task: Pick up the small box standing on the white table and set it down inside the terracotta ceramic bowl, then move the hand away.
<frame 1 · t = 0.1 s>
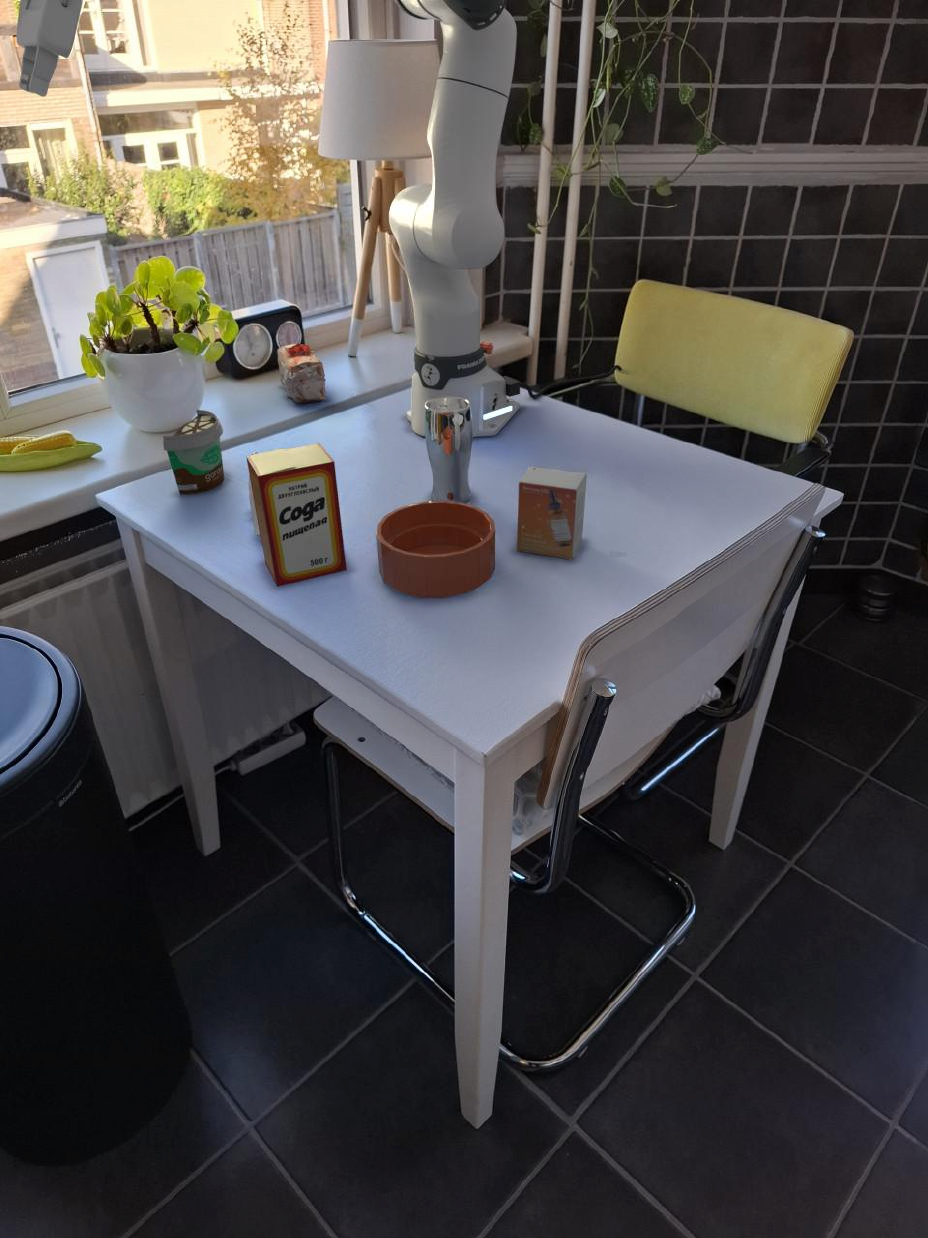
hand: (31, 92, 105), 54 cm above the table, tool tilted 30°, fingers open, 8 cm apart
bowl: (437, 570, 115), on the table
baking soda box: (305, 568, 117), on the table
small box: (549, 548, 120), on the table
food item: (303, 395, 173), on the table
food container: (210, 483, 140), on the table
shaker set: (269, 529, 127), on the table
beer glass: (451, 499, 133), on the table
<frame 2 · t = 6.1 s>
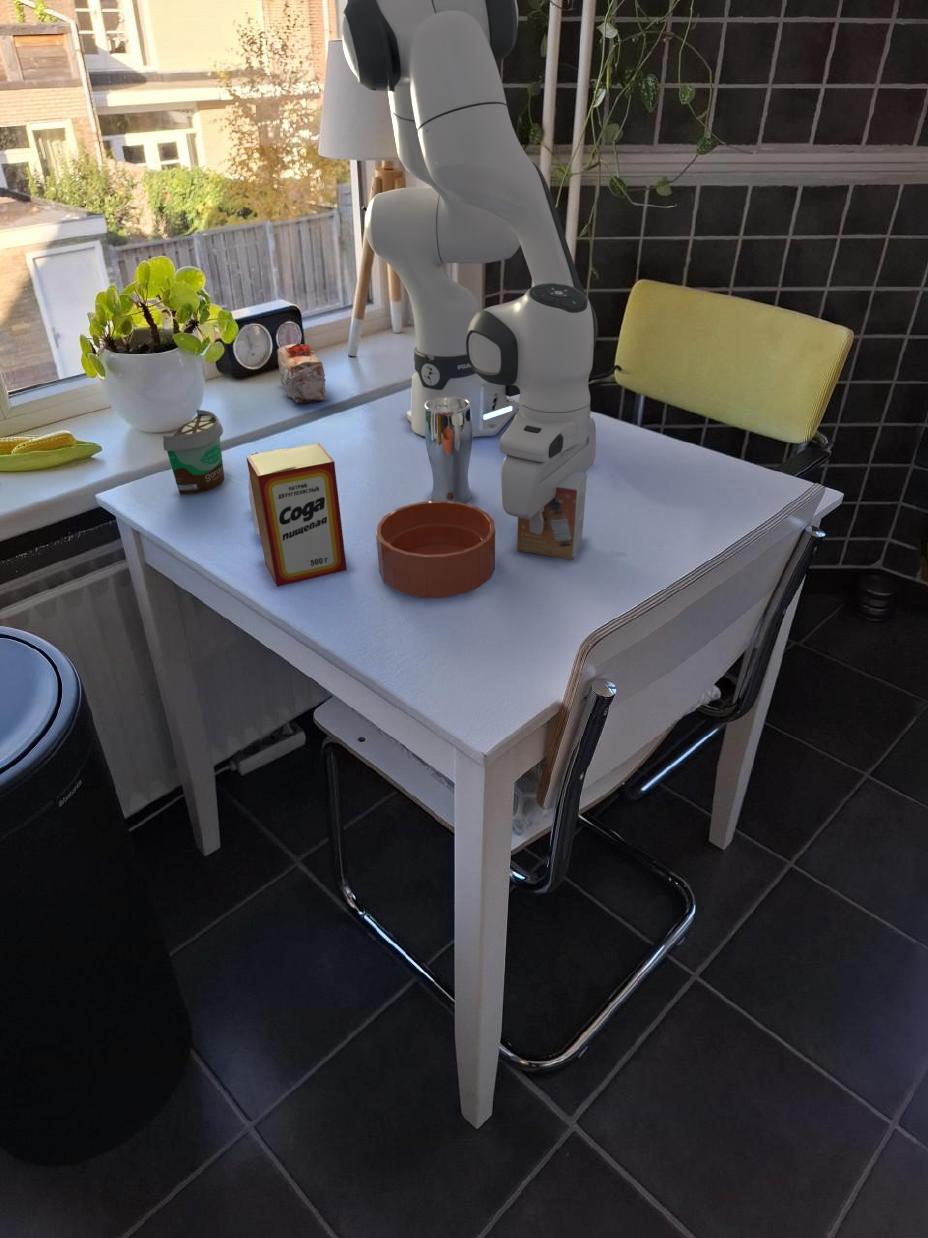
hand: (550, 520, 118), 4 cm above the table, tool pointing down, fingers closed on small box, 6 cm apart
small box: (549, 548, 120), on the table, touching gripper
everything else where it was.
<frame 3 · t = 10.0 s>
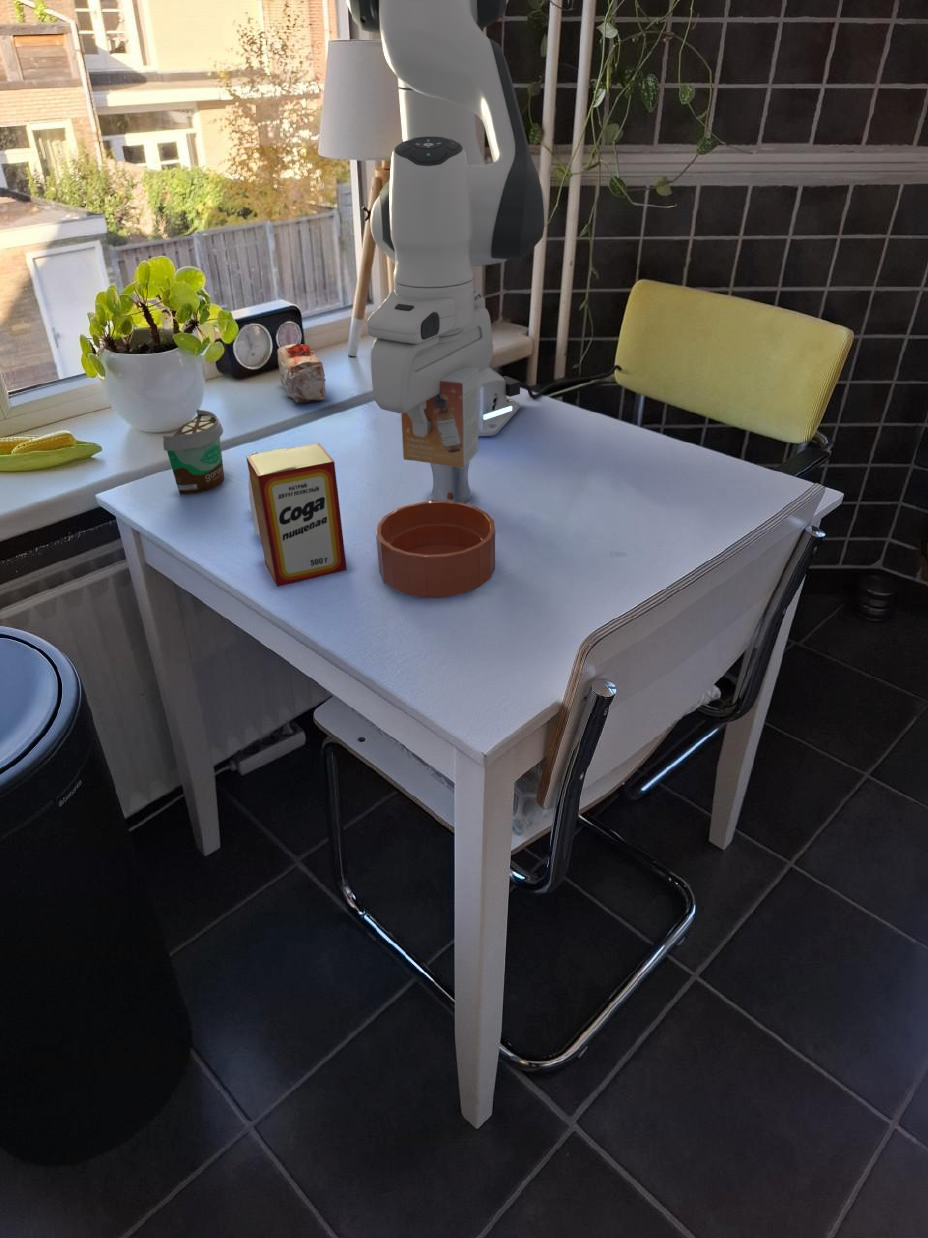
hand: (439, 424, 104), 20 cm above the table, tool pointing down, fingers closed on small box, 6 cm apart
small box: (441, 457, 107), point 16 cm above the table, touching gripper
everything else where it was.
when the fingers open (5 cm above the table, at t = 14.0 s): small box stays where it is, resting on bowl.
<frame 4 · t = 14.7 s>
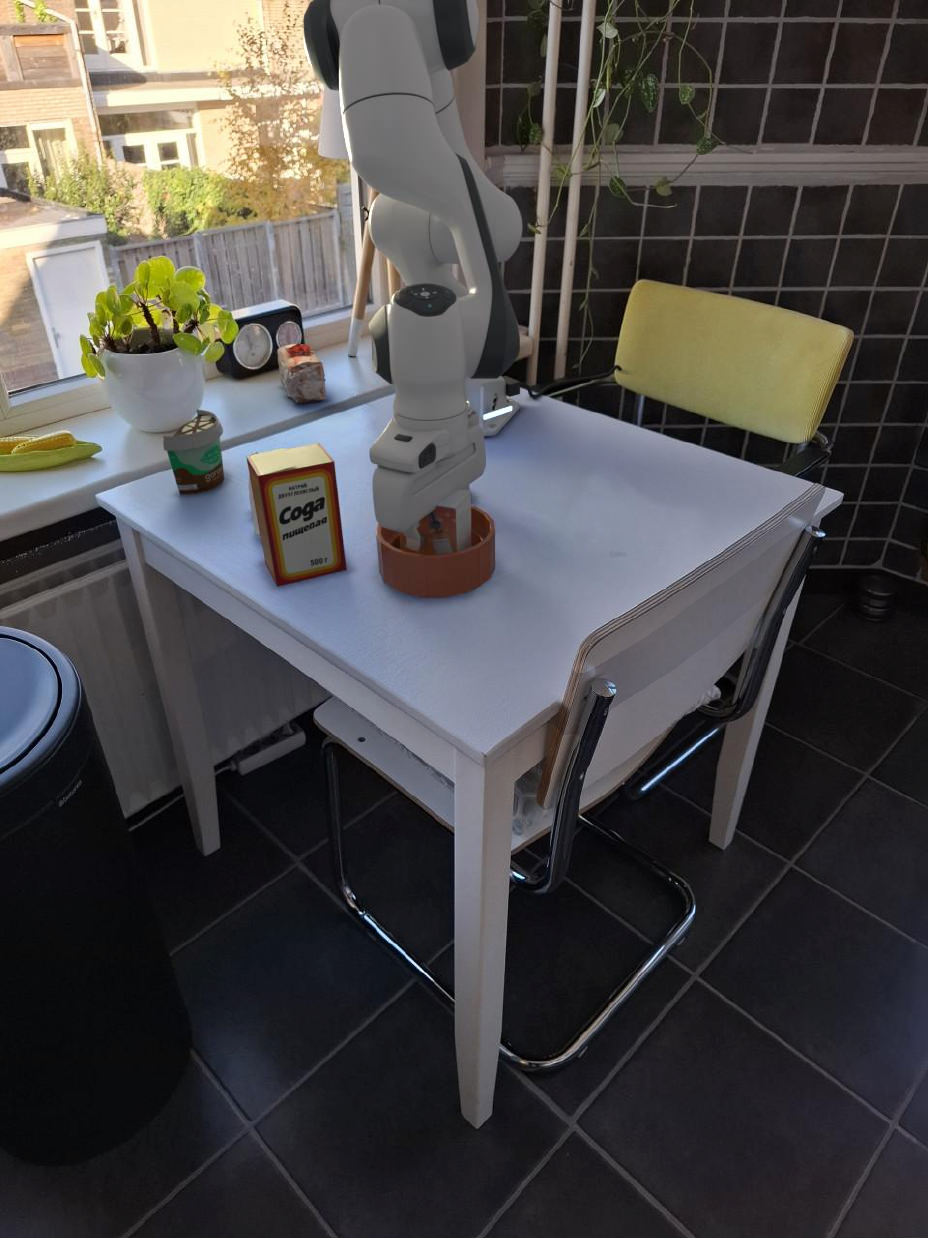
hand: (436, 532, 112), 6 cm above the table, tool pointing down, fingers open, 8 cm apart
small box: (437, 567, 115), resting on bowl
everything else where it was.
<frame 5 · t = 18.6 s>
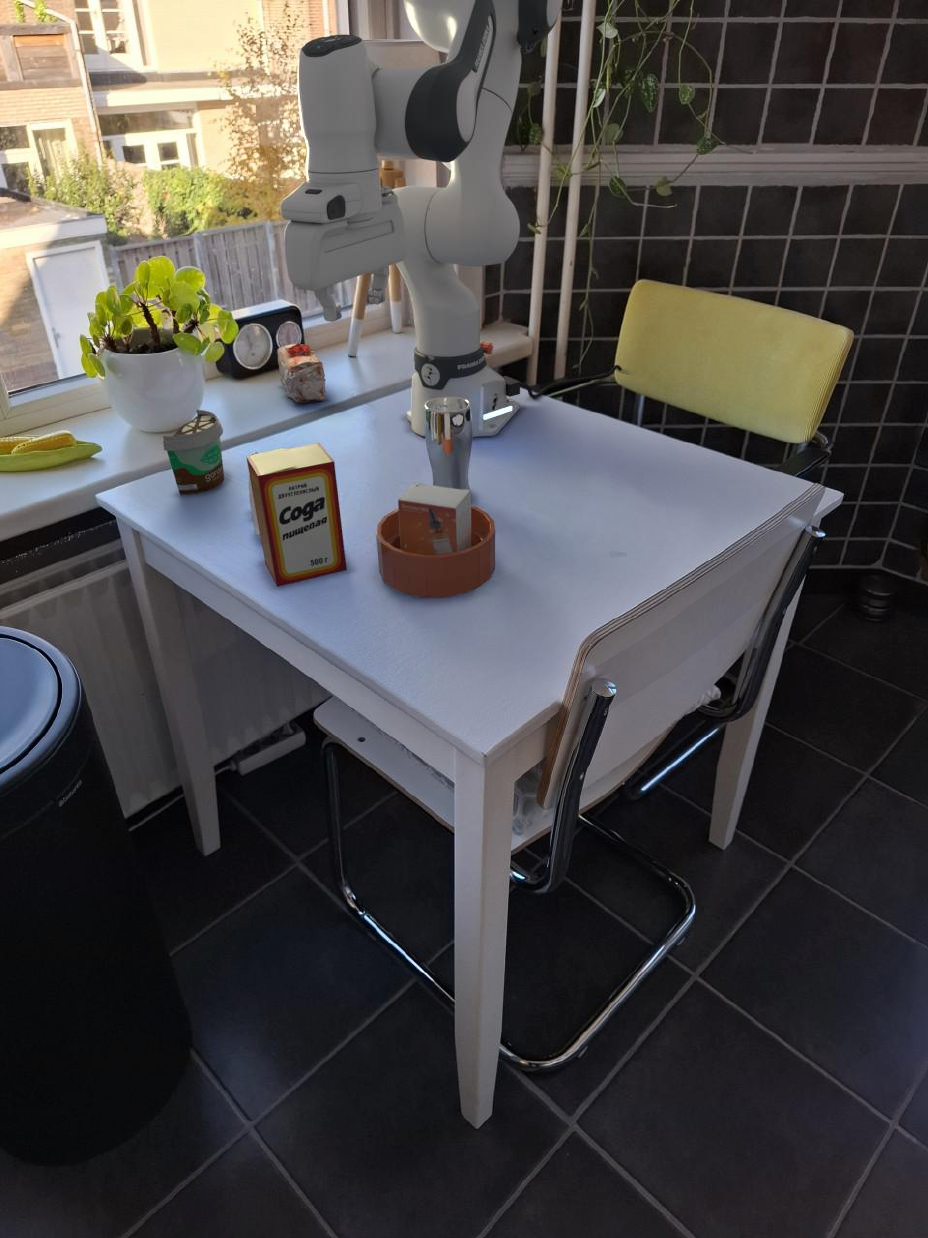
hand: (355, 311, 114), 29 cm above the table, tool pointing down, fingers open, 8 cm apart
nothing on the table moved.
at the end: small box inside the target area in the bowl (0.1 cm from its centre), point 0.4 cm above the bowl's base; the gripper is holding nothing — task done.
